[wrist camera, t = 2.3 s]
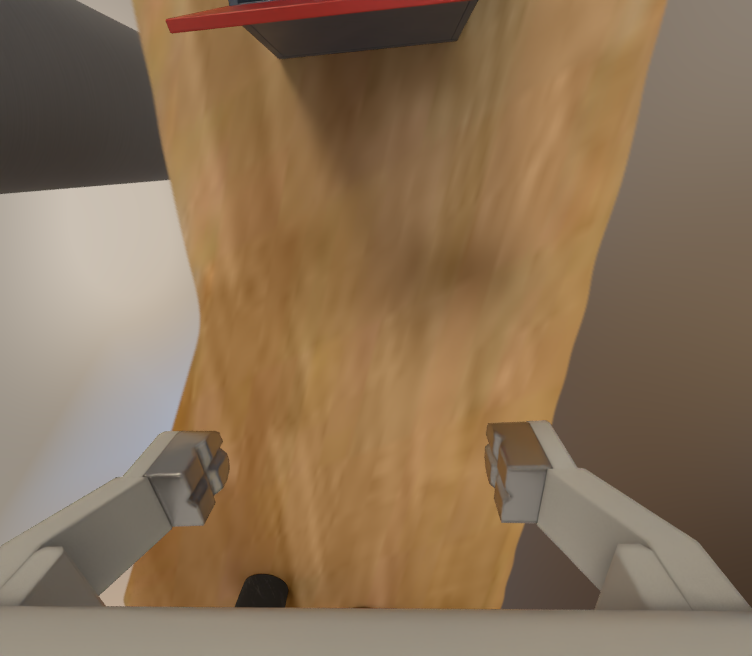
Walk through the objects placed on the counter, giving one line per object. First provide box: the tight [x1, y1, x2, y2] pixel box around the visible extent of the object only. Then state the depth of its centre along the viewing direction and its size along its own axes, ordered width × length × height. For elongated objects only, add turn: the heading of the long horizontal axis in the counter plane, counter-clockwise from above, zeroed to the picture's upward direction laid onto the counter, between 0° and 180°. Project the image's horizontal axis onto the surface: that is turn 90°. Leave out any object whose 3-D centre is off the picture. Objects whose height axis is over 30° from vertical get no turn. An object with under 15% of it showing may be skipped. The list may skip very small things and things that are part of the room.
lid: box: [166, 0, 470, 33], centre depth 15 cm, size 7×13×1 cm
